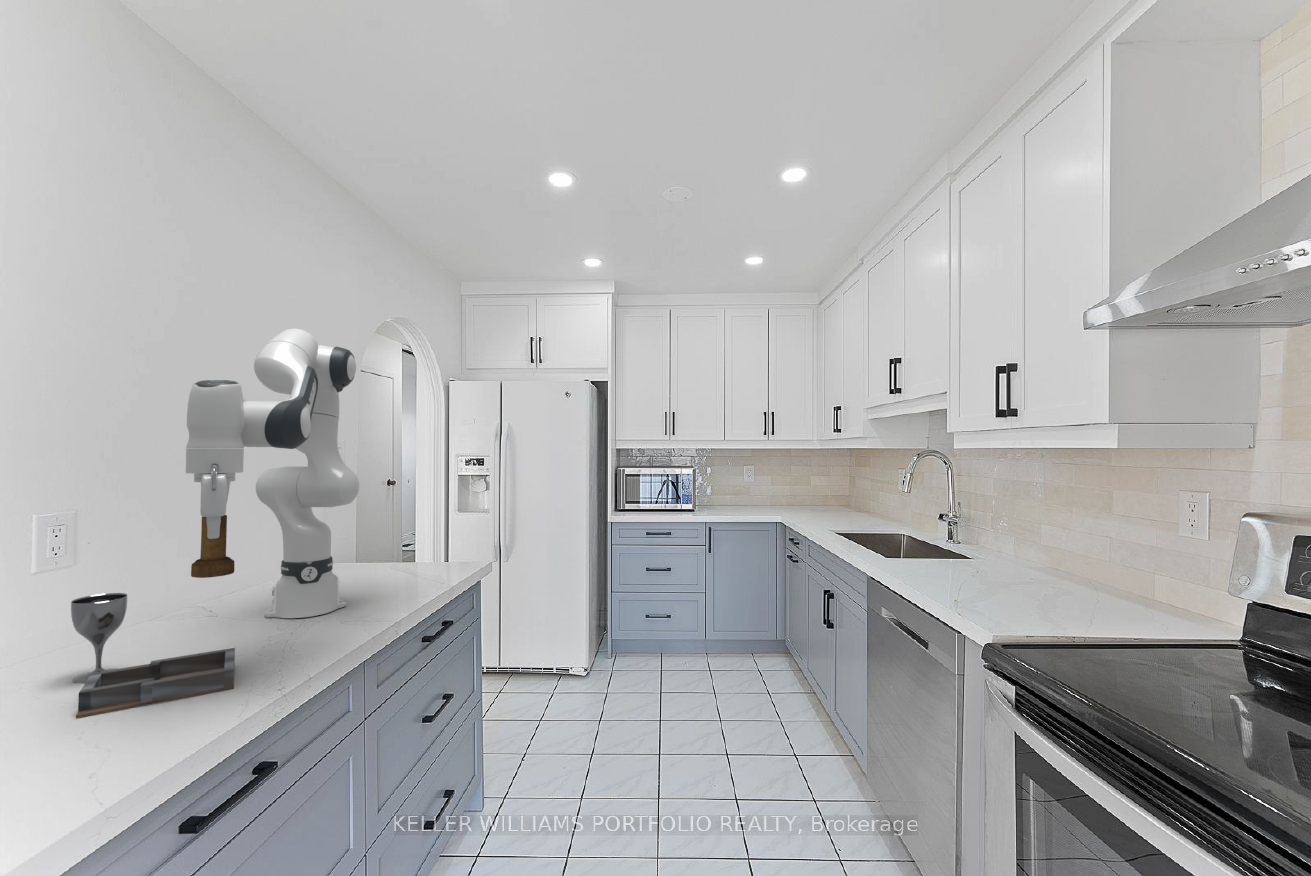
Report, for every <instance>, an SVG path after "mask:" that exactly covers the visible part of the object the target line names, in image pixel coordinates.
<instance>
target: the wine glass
mask: <svg viewBox="0 0 1311 876" xmlns="http://www.w3.org/2000/svg"><path fill="white" fill-rule="evenodd" d="M127 608H128V594H127V593H125V592H124V593H123V592H111V593H110V592H109V593H108V592H107V593H100V594H93V595H88V596H87V595H86V596H83V597H79V598H75V599H72V600H71V602H70V617H71V621H72V625H73V628H74V630H75V631H76V632H77V633H78V635H80V636H82V637H83V638H84V639H85V640H87V641H88V642H89V643H90V644H91V645H92V647H93V649H94V654H95V669H94V670H92V671H89V672H86V673H83V674H79V675H78V676H75V677H74V678H72V682H73V683H75V684H85V683H86V681H87V680H88V678H89V677H90V675H91V673H95V672H102V671H108V670H114V669H118V668H103V667H102V658H103V650H104V647H105V644H106V643H107V641H108V640H109V639H110V637H112V635H113V634H114V633H115V632H116V631H118V629H119V628H120V626H122V624H123V622H124V620H125V617H126V614H127V610H128V609H127Z"/></svg>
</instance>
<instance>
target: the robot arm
mask: <svg viewBox="0 0 1311 876" xmlns="http://www.w3.org/2000/svg"><path fill="white" fill-rule="evenodd" d="M253 370H254V373H255V375H256V378H257V379H258V381H259V382H261V384H262V385H263V386H264V387H265V388H267V389H268V390H271V391H272V392H275V393H278V394H285V395H289V398H288V399H283V400H247V399H246V398H244V396H243V395H244V394H243V389H242V385H241V383H240V382H238V381H236V380H227V379H226V380H225V379H214V380H213V379H212V380H211V379H206V380H199V381H197V382H195V383H193V384H192V387H191V389H190V392H189V395H188V396H189V397H188V402H187V411H186V428H187V430H188V440H187V442H186V447H185V473H186V474H193V482H194V483H200V506H199V507H200V508H199V509H200V510H199V511H200V516H201V518H202V517H207V529H208V532H207V537H208V538H209V539H215V538H219V536H220V522H221V516H224V515H227V514H226V513H227V504H228V499H229V492H230V489H231V488H230V486H231V482H236V474H239V473H240V474H241V473H244V453H245V451H244V448H245V447H246V448H275V449H276V448H277V449H285V450H286V449H287V450H294V449H296V450H297V451H299V452H300V453H303V454H304V455H305V456H306V460H307V466H281V467H279V466H278V467H273V468H270V469H266V470H264V471H262V473H260V475H259V477H258V478H257V480H256V482H255V493H256V496H257V498H258V500H259V501H260V502H261V503H262V504H264V505H265V506H266V507H268V508H269V510H271V512H272V513H273V514H274V515H275V517H276V519H277V521H278V523H279V525H280V529H281V533H282V547H283V548H282V549H283V550H282V551H283V552H282V553H283V556H282V557H283V558H282V559H283V560H282V561H281V565H280V574H281V576H280V578H279V580H277V581H276V582H275V584H274V586H273V587H272V589H271V596H273V598H272V601H271V602H272V603H271V605H270V606H269V607H268V608H267V610H266V611H265V612H264V618H280V619H281V618H282V619H300V618H310V617H315V616H316V617H317V616H319V615H325V614H328V613H331V612H334V611H335V610H338V609H340V608H344V607H346V606H347V603H346V601H345V600H342V599H341V598H340V588H339V587H340V584H339V582H340V581H339V576H337V575H336V574H335V573H334V572H333V571H332V570H334V569H333V567H334V566H333V565H334V561H333V557H332V530H331V528H330V527H329V525H328V524H326V523H325V522H324V521H321V520H320V519H318V518H317V517H316V515H315V514H314V513H313V509H312V508H335V507H336V508H337V507H342V506H346V505H349V504H351V503H352V502H353V501H355V499H356V497H357V496H358V494H359V491H360V482H359V479H358V476H357V475H356V473H355V472H354V471H353V470H352V469H350V468H349V467H348V466H347V465H346V463H345V462H344V461H343V459H342V457H341V455H340V452H339V448H338V445H339V444H338V432H339V420H340V395H339V394H340V392H342V391H343V390H344V388H346V387H348V386H349V385H350V384H351V383H352V382H353V380H354V379H355V376H356V372H357V363H356V360H355V356H354V354H353V353H352V352H351V351H350V349H347V348H344V347H340V346H335V347H334V346H329V345H322V344H321V345H320V344H318V341H317V339H316V338H315V337H314V336H313V335H312V334H311V333H309V332H308V331H307V330H305V329H302V328H294V327H293V328H288V329H285V330H283V331H281V332H279V333H277V334H276V335H275V336H273V337H272V338H271V339H270V340H269V341H268V342H266V343H265V345H264V346H263V347H262V348H261V349H260V350H259V352H257V355H256V356H255V359H254V361H253ZM215 489H216V490H215ZM212 490H214V491H212Z"/></svg>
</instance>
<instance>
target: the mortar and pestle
mask: <svg viewBox="0 0 1311 876" xmlns="http://www.w3.org/2000/svg"><path fill="white" fill-rule="evenodd" d="M215 490H216V489H215ZM212 491H214V490H212ZM227 527H228V515H227V514H225V515H224V516H221V522H220V536H219V538H215V539H209V538H208V537H207V532H208V529H207V517H202V516H201V532H200V533H201V535H200V538H201V539H200V557H199V558H198V559H196V560H195V561H194V562H193V563H191V567H190V568H191V571H190V577H191V578H198V579H205V578H206V579H207V578H215V577H216V578H217V577H224V576H228V575H232V574H234V573H235V560H234V559H232V558H231V557H230V556H227V532H228V531H227Z"/></svg>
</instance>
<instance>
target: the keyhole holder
mask: <svg viewBox="0 0 1311 876" xmlns="http://www.w3.org/2000/svg"><path fill="white" fill-rule="evenodd" d="M235 654H236V647H232V648H231V647H230V648H226V649H220V650H213V651H205V652H199V653H192V654H187V655H182V656H181V655H180V656H174V657H167V658H162V659H154V660H151V661H150V663H147V664H146V663H145V664H141V665H134V666H126V667H122V668H117V669H114V670H108V671H102V672H95V673H91V675H90V677H89V678H88V680H87V681H86V683H83V684H84V685H82V686H81V687H82V688H81V689H80V690H79V692H78V700H77V701H78V706H77V707H78V708H77V709H78V711H77V713H76V715H75V719H80V718H85V717H91V716H96V715H102V714H107V713H108V714H109V713H111V712H112V713H113V712H117V711H122V710H123V711H124V710H127V709H133V708H138V707H143V706H149V705H153V704H158V703H165V702H170V701H175V700H180V699H187V698H191V697H195V696H196V695H197V696H201V695H206V694H207V695H208V694H212V693H216V692H221V691H222V690H223V691H227V690H232V689H234V688H235V667H236V666H235V665H236V664H235V663H236V662H235V660H236V658H235V657H236V655H235ZM197 696H196V697H197Z"/></svg>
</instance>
